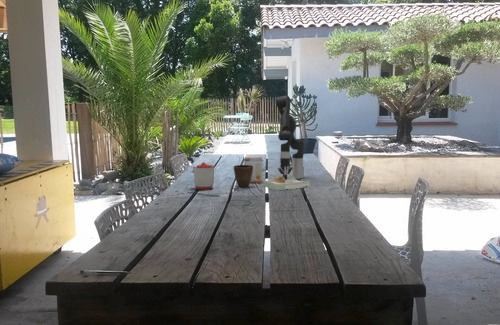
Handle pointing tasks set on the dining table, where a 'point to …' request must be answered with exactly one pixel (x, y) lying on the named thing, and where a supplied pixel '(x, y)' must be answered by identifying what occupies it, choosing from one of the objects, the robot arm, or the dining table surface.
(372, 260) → the dining table surface
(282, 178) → the block
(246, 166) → the plant pot
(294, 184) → the box
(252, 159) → the cracker box
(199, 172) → the citrus juicer
